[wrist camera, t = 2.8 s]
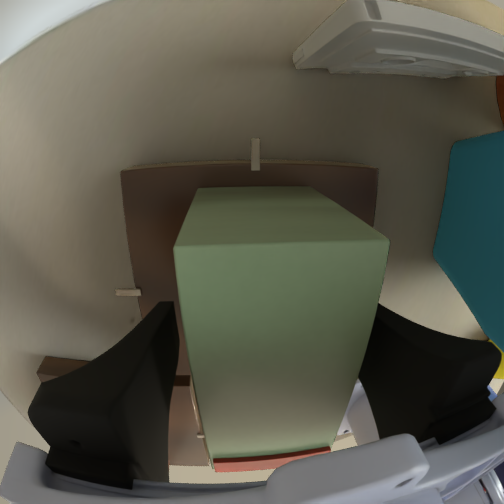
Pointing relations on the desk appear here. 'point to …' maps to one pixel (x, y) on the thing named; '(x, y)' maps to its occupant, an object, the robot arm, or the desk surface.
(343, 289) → the green box
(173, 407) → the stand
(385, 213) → the desk surface
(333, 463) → the robot arm
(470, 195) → the block
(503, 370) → the lemon
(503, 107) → the binoculars
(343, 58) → the cassette
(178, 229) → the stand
